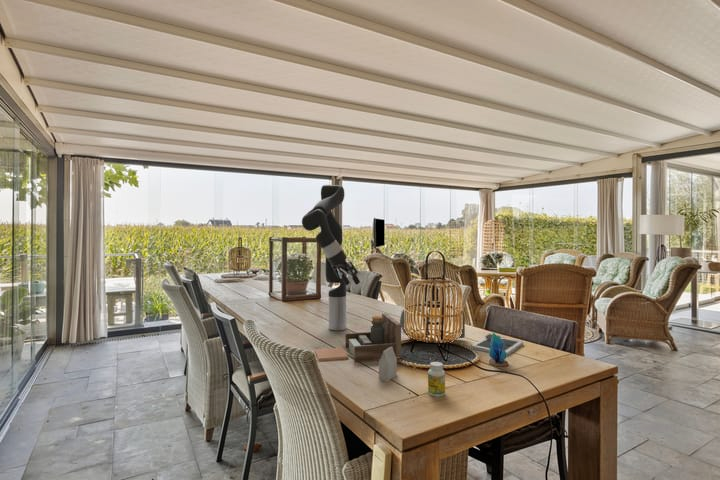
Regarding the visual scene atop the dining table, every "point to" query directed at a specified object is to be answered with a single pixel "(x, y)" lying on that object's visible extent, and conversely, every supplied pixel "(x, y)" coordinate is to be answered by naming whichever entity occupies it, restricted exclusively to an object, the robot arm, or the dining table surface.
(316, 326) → the dining table surface
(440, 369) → the supplement bottle
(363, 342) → the charcoal offcut
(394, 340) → the walnut rack
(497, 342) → the gemstone
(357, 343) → the sage offcut
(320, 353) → the terracotta pad
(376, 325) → the bottle
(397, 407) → the dining table surface
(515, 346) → the picture frame
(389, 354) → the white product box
